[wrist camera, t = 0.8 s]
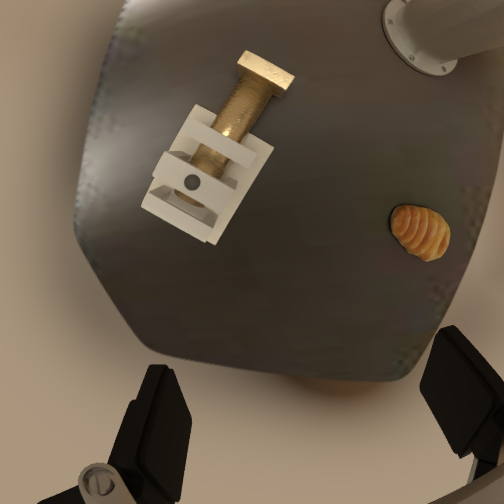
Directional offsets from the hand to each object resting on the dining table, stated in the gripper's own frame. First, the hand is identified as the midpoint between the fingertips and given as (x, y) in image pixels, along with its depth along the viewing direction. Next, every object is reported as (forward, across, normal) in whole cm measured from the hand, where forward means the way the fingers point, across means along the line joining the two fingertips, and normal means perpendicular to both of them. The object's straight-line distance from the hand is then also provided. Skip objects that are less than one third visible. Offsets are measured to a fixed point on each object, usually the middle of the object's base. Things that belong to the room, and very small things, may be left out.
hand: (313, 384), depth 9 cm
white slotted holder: (+26, +6, -5) cm, 28 cm away
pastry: (+27, -20, +4) cm, 34 cm away
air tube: (+25, +3, -9) cm, 27 cm away
